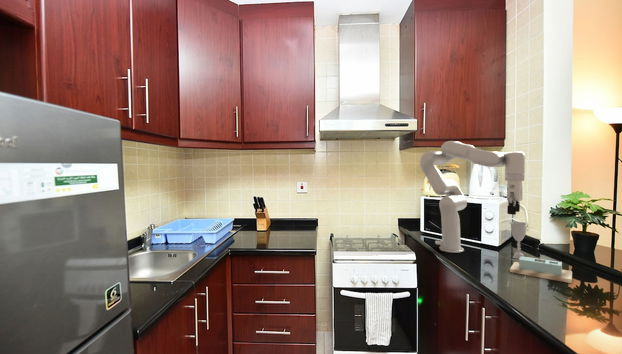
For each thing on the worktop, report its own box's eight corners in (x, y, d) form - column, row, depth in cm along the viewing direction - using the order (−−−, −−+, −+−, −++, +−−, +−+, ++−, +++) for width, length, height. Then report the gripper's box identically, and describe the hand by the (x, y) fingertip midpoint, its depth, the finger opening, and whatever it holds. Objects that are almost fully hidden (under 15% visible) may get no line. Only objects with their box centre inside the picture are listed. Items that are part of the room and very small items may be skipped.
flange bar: (519, 268, 123) (518, 259, 123) (521, 264, 127) (521, 256, 127) (561, 275, 113) (561, 265, 113) (562, 271, 117) (561, 262, 117)
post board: (510, 271, 123) (509, 258, 123) (514, 264, 131) (514, 252, 131) (571, 283, 109) (571, 268, 109) (572, 274, 117) (571, 260, 117)
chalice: (522, 255, 144) (521, 221, 144) (531, 259, 138) (530, 224, 137) (507, 255, 145) (506, 221, 145) (515, 259, 138) (514, 224, 138)
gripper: (521, 178, 123) (520, 216, 124) (527, 177, 135) (526, 211, 136) (501, 178, 128) (500, 214, 129) (508, 176, 141) (507, 209, 141)
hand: (513, 212), depth 133 cm, fingers open, 9 cm apart
